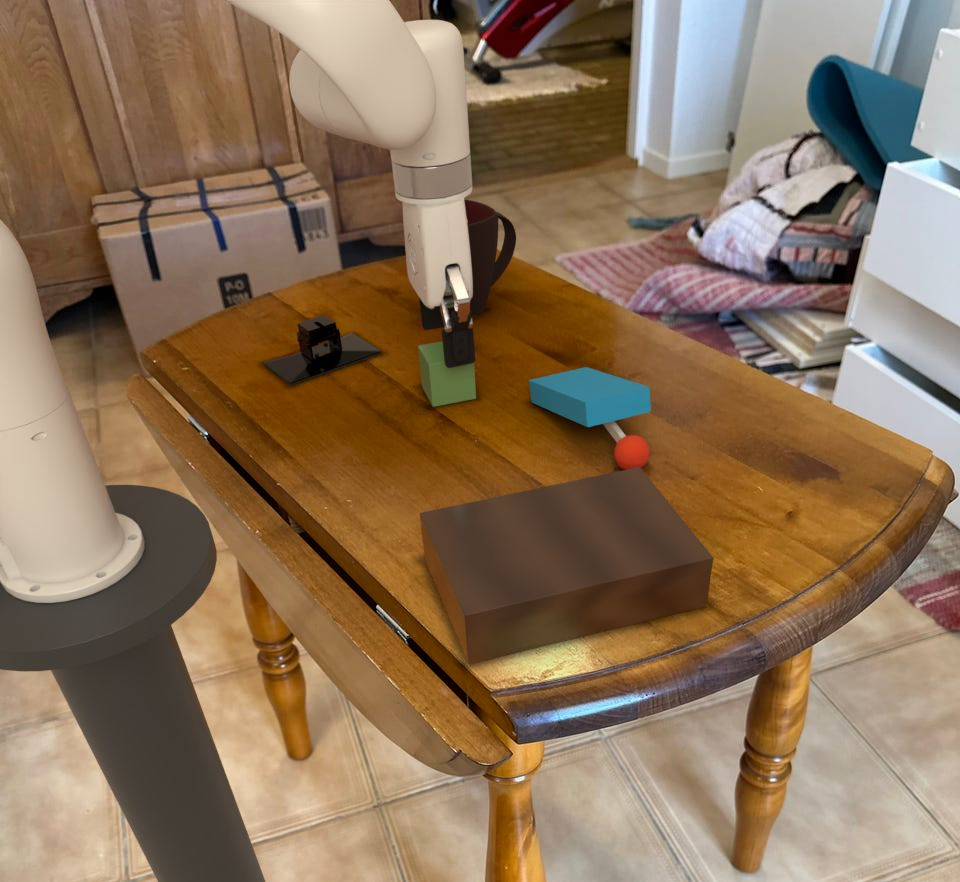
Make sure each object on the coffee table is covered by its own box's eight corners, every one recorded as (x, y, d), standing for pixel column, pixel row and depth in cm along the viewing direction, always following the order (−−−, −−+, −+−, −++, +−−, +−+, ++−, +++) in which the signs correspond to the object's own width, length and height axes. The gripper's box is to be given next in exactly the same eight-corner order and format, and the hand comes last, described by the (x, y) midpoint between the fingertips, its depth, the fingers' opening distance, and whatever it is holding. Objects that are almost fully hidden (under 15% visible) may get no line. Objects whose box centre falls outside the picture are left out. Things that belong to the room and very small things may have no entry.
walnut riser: (468, 664, 71) (464, 615, 68) (424, 560, 81) (419, 512, 78) (706, 607, 75) (713, 557, 71) (636, 513, 85) (639, 466, 81)
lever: (536, 443, 103) (609, 482, 88) (528, 380, 100) (602, 409, 85) (592, 429, 105) (673, 465, 89) (586, 366, 102) (669, 393, 86)
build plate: (290, 386, 107) (282, 348, 104) (262, 365, 112) (254, 328, 109) (381, 353, 112) (376, 316, 109) (351, 334, 117) (345, 298, 113)
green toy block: (432, 407, 102) (428, 364, 98) (421, 387, 105) (417, 345, 102) (476, 398, 102) (473, 356, 99) (464, 379, 106) (461, 337, 103)
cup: (406, 309, 121) (396, 213, 113) (491, 281, 127) (487, 187, 119) (449, 333, 115) (441, 233, 107) (536, 302, 121) (535, 205, 113)
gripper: (375, 158, 94) (396, 320, 106) (415, 210, 82) (434, 387, 94) (446, 146, 95) (459, 308, 107) (496, 197, 83) (505, 373, 95)
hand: (448, 345), depth 100 cm, fingers open, 9 cm apart
